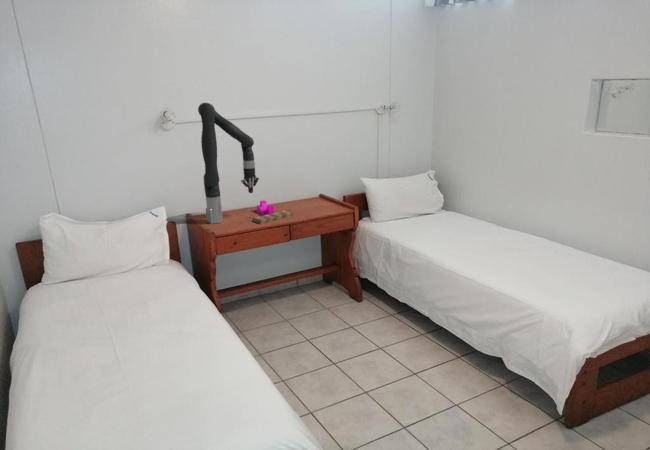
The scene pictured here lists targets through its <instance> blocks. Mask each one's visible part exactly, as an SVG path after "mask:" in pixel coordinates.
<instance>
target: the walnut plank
mask: <svg viewBox="0 0 650 450" xmlns="http://www.w3.org/2000/svg"><path fill="white" fill-rule="evenodd" d="M289 217H293V212H291V211H288V210H284V209H283V210H281V211H277V212H275V211H274V213H271V214H267V215H260V216H256V217H252V222H253V223H256V224H259V225H262V224H265V223H266V224H267V223H270V222H274V221H277V220H282V219H285V218H289Z"/></svg>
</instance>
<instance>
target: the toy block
mask: <svg viewBox="0 0 650 450" xmlns="http://www.w3.org/2000/svg"><path fill="white" fill-rule="evenodd" d="M256 209H257V210H256V212H257V213H259V214H260V215H261V216H263V215H267V214H271V213H275V205H274V204H268V202H267V200H260V201H259V205H256Z"/></svg>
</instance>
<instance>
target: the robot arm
mask: <svg viewBox="0 0 650 450" xmlns="http://www.w3.org/2000/svg"><path fill="white" fill-rule="evenodd" d="M197 111H198V114H199V116H200V118H201V119H200V120H201V125H202V131H201V136H200V137H201V138H200V139H201V141H200V143H201V152H202V157H203V161H204V168H205V169H204V175H203V185H204V194H205V202H206V207H205V216H206V217H205V218H206V223H209V224H211V225H212V224H213V225H214V224H219V223H222V222H224V221H223V210H222V199H221V190H220V175H219V170H218V143H217V134H216V128H215V126H218V127H219V128H220V129H222V130H223V131H224V132H225V133H226V134H228V135H229V136H230V137H232V138H233V139H235V140H237V141H238V142H239V143H240V147H241V152H242V168H243V178H242V179H241V180H240V182H241V183H242V184H243V185H244V187H246V188H247V191H248V193H249V194H252V193H254V187H256V185H257V184H258V181H259V179H260V178H259V177H257V175H256V166H255V165H256V163H255V155H254V152H253V146H254V143H255V141H254V139H253V137H251V136H250V135H248V134H247V133H245V132H244V131H242V129H241V128H240V127H238V126H237V125H235V123H234V124H233V123H232V122H231V121H230V120H228V119H227V118H225V117H223V116H222V115H221V114H220V113H219V112H217V111H216V109H215V107H214V106H213V104H211V103H209V102H202V103H200V104H199V106H198V107H197Z"/></svg>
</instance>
